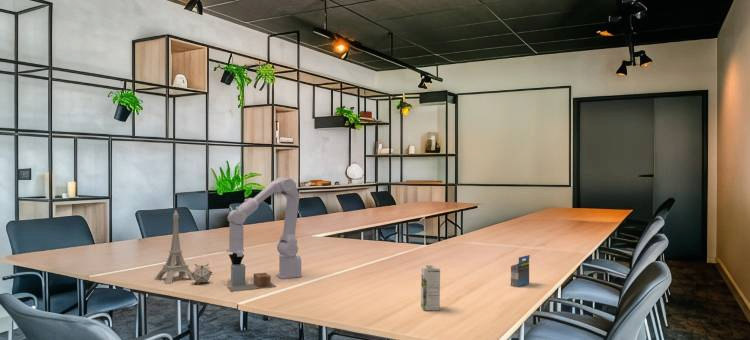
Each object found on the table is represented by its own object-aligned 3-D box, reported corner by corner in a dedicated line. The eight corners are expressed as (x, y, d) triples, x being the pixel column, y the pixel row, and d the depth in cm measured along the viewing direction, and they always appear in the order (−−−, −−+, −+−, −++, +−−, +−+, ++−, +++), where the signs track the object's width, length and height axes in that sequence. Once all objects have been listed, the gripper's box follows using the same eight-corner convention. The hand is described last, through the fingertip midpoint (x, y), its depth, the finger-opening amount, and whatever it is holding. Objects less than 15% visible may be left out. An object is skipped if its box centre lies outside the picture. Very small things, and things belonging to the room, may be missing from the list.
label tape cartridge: (521, 282, 216) (521, 253, 216) (529, 284, 213) (529, 254, 213) (510, 286, 210) (510, 256, 210) (518, 287, 207) (519, 257, 207)
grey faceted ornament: (203, 293, 211) (203, 276, 205) (186, 284, 212) (186, 268, 206) (216, 278, 218) (217, 262, 212) (200, 270, 219) (199, 254, 214)
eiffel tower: (184, 274, 229) (184, 208, 229) (197, 279, 220) (197, 210, 219) (153, 279, 220) (154, 210, 220) (166, 284, 210) (166, 212, 210)
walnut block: (265, 272, 213) (270, 276, 206) (265, 282, 213) (270, 286, 206) (253, 273, 211) (258, 277, 204) (253, 283, 211) (258, 287, 204)
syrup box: (420, 306, 178) (420, 265, 178) (437, 306, 179) (437, 264, 179) (423, 311, 173) (423, 268, 173) (440, 310, 173) (440, 268, 173)
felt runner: (270, 282, 213) (270, 282, 213) (276, 286, 206) (276, 286, 206) (227, 287, 205) (227, 286, 205) (231, 291, 198) (231, 290, 198)
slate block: (243, 282, 213) (243, 263, 213) (245, 285, 209) (245, 265, 209) (230, 283, 211) (231, 264, 210) (232, 286, 207) (233, 266, 207)
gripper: (223, 237, 217) (223, 268, 218) (230, 241, 205) (229, 275, 205) (240, 236, 221) (239, 267, 221) (247, 240, 208) (247, 273, 208)
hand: (236, 271), depth 213 cm, fingers closed
